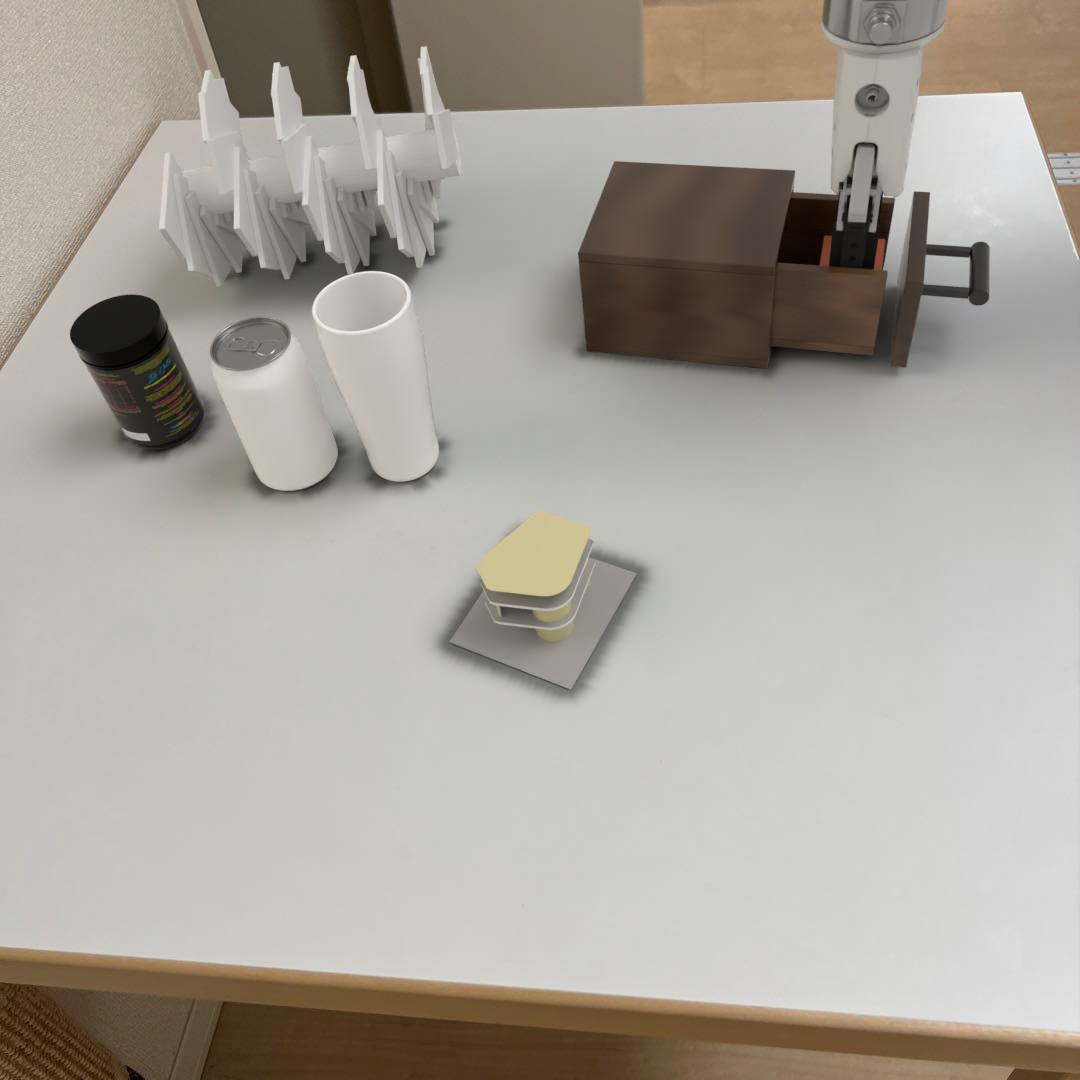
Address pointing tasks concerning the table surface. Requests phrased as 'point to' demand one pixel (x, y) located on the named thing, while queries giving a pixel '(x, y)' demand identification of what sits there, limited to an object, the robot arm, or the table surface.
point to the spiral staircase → (306, 183)
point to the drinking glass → (380, 369)
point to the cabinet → (684, 262)
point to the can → (273, 403)
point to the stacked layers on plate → (543, 600)
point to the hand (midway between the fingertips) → (854, 244)
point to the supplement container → (139, 370)
